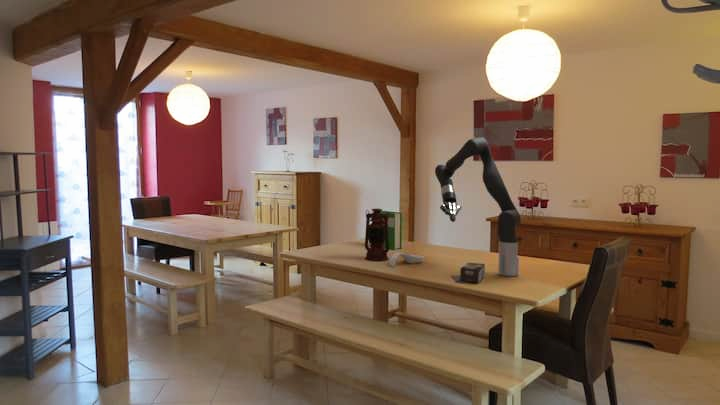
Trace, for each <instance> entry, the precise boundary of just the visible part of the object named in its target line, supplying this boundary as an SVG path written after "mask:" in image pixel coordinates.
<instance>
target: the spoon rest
mask: <svg viewBox="0 0 720 405" xmlns="http://www.w3.org/2000/svg"><path fill="white" fill-rule="evenodd" d="M400 256H401V257H402V258H403V260H404V261H406V263H408V264H418V263H420V262H422V261H423V259H424V258H425V257H424V256H422V255H416V254H407V253H404V252H403V253H402V252H395V253H394V254H393V255H392V256H391V258H390V260H388V261H389V262H388V266H389V267H392V268H396V262H397V261H396V260H397V259H398V257H400Z"/></svg>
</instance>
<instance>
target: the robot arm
mask: <svg viewBox="0 0 720 405" xmlns="http://www.w3.org/2000/svg"><path fill="white" fill-rule="evenodd" d="M476 156H479V157H480V159H481V162H482V165H483V168H482V181H483V182H482V183H483V185H484V186H485V188H486V191H487V192H488V193H489V195H490V196H491V198H492V199H494V201H495V202H496V203H497V204H498V206H499V209H500V210H501V212H500V213H499V214H498V217H497V236H498V266H497V267H498V269H497V271H498V275H500V276H504V277H515V276H519V260H520V259H519V256H518V252H519V250H518V246H519V244H518V243H519V242H518V241H519V237H518V236H517V234H516V228H517V227H518V226H519V225H520V224H521V222H522V220H521V219H522V218H521V215H520V212H519V210H518V209H517V207H516V206H515V204H514V202H513V201H512V199H511V196H510V193H509V191H508V189H507V187H506V185H505V182H504V180H503V179H502V178H503V177H502V175H501V174H500V172H499V170H498V167H497V165H496V163H495V160H494V157H493V154H492V151H491V148H490V146H489V143H488V141H487V140H486V138H484V137H482V136H481V137H480V136H479V137H475V138H470V139H468V140H467V141H466V142H465V143H463V145H462V147H461V148H460V149H459V150H458V151H457V153H456V154H454V156H452V157H451V158H450V159H449V160H447V161H446V163H445V165H444V164H438V165H437V166H436V167H435V170H434V173H435V176H436V179H437V180H438V183H439V185H440V189H441V190H440V192H441V198H442V204H441V205H440V206H439V208H440V210H441V211H442V212H443V213H444V214H445V215H447V216H449V220H450V221H451V222H452V223H454V222H455V221H456V220H457V218H456V216H457V215H459V212H461V210H462V205H461V206H460V205H459V204H458V203H457V197H456V195H457V194H456V191H455V188H454V184H453V179H451V178H452V177H453V175H454V174H455V172H456V171H457V170H458V169H460V168H461V167H462V166H463V165H464V163H465V162H466V160H467V159H469V158H471V157H476Z"/></svg>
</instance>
